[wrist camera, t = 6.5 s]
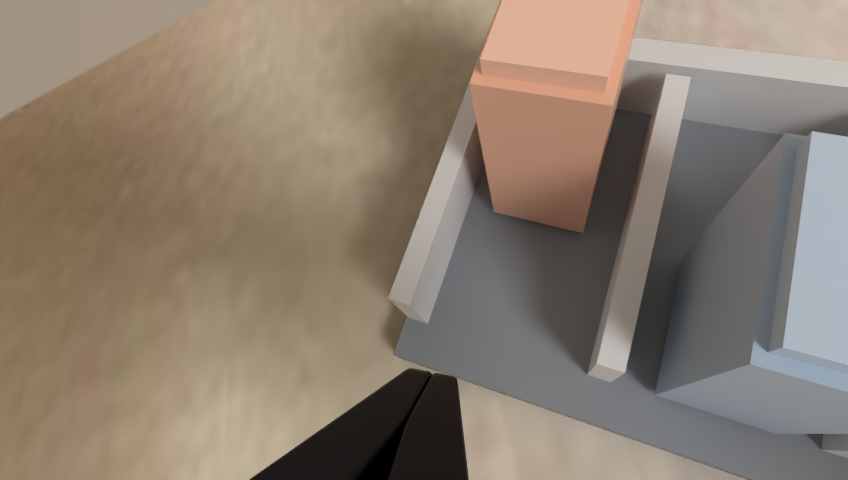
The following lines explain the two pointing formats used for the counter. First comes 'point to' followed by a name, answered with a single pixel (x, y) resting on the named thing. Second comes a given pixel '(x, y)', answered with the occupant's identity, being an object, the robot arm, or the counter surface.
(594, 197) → the grey divided tray
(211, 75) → the counter surface
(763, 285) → the pale blue block
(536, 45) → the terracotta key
